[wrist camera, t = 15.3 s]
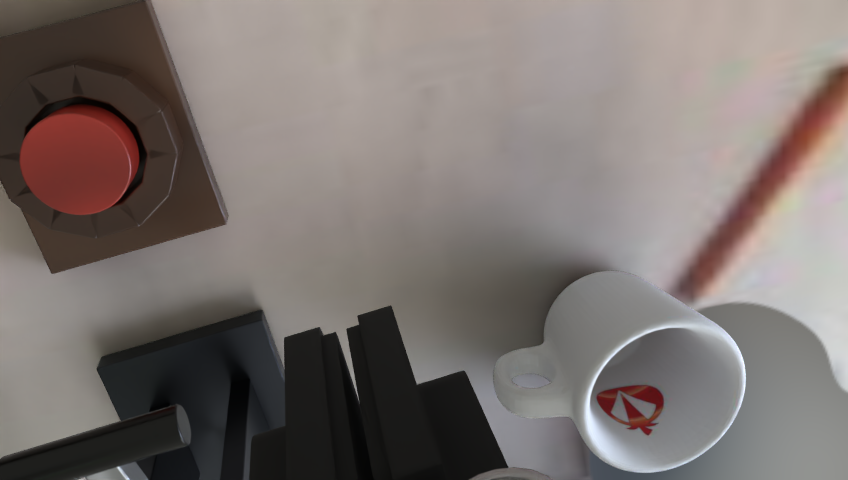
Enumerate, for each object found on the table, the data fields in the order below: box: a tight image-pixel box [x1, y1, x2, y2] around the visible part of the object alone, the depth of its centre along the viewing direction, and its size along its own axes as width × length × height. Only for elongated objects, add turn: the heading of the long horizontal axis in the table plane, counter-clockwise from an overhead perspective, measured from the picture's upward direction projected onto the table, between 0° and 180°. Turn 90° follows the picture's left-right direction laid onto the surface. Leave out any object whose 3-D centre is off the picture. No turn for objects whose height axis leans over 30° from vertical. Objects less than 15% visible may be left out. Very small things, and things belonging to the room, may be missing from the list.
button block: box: [0, 0, 228, 274], centre depth 32 cm, size 10×8×3 cm
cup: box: [493, 271, 746, 473], centre depth 38 cm, size 11×8×8 cm
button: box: [19, 104, 139, 215], centre depth 30 cm, size 4×4×2 cm
